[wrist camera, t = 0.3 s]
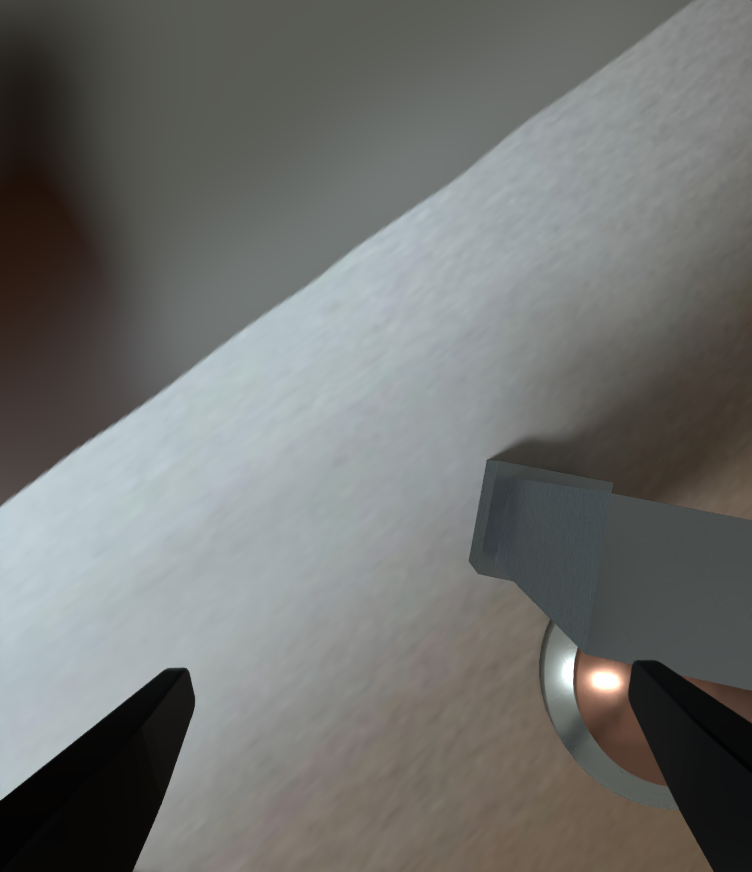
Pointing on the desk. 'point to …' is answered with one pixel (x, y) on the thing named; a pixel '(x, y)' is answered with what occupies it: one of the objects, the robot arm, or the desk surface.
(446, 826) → the desk surface
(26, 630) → the desk surface
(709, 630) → the grey stepped block
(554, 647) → the copper centred dish
